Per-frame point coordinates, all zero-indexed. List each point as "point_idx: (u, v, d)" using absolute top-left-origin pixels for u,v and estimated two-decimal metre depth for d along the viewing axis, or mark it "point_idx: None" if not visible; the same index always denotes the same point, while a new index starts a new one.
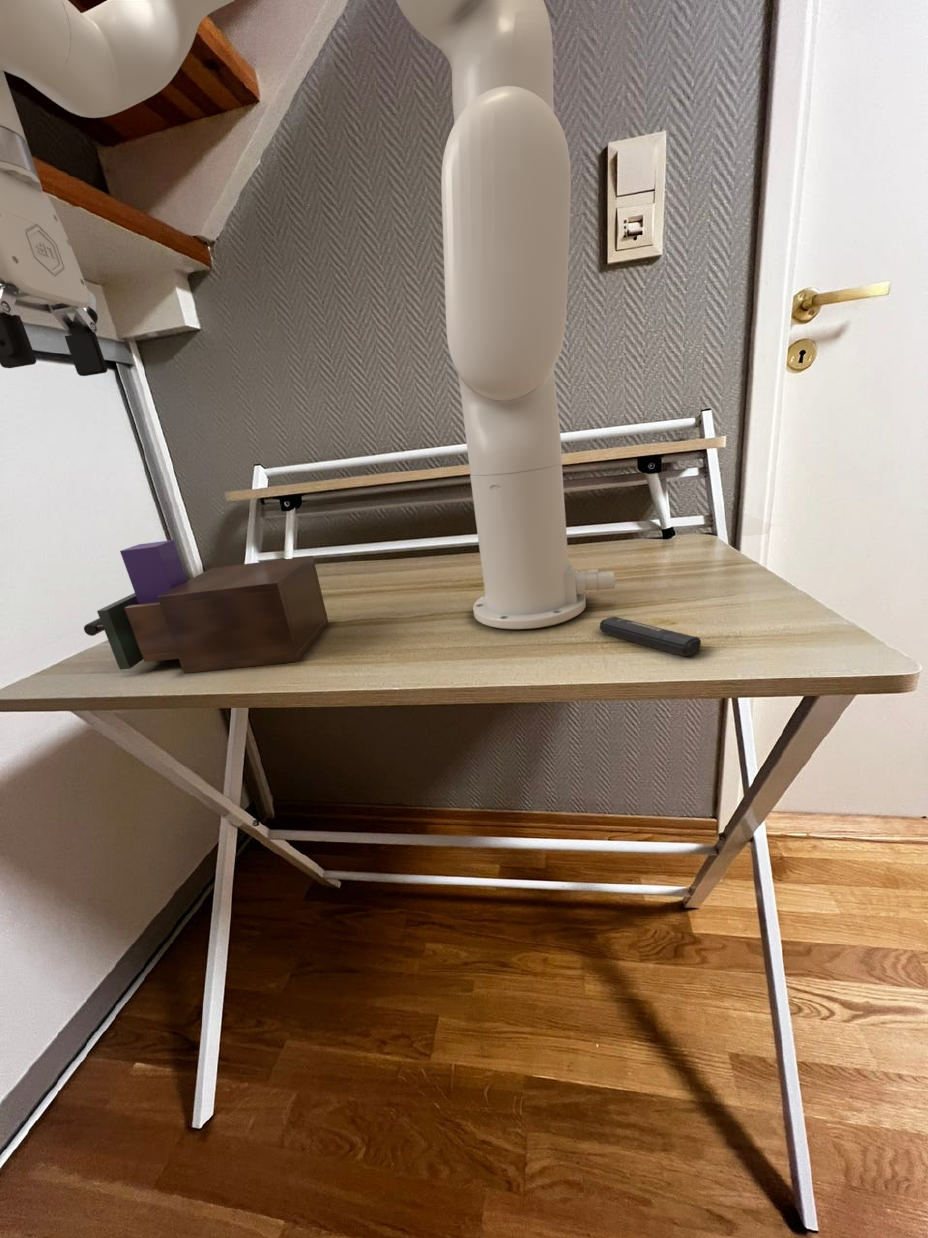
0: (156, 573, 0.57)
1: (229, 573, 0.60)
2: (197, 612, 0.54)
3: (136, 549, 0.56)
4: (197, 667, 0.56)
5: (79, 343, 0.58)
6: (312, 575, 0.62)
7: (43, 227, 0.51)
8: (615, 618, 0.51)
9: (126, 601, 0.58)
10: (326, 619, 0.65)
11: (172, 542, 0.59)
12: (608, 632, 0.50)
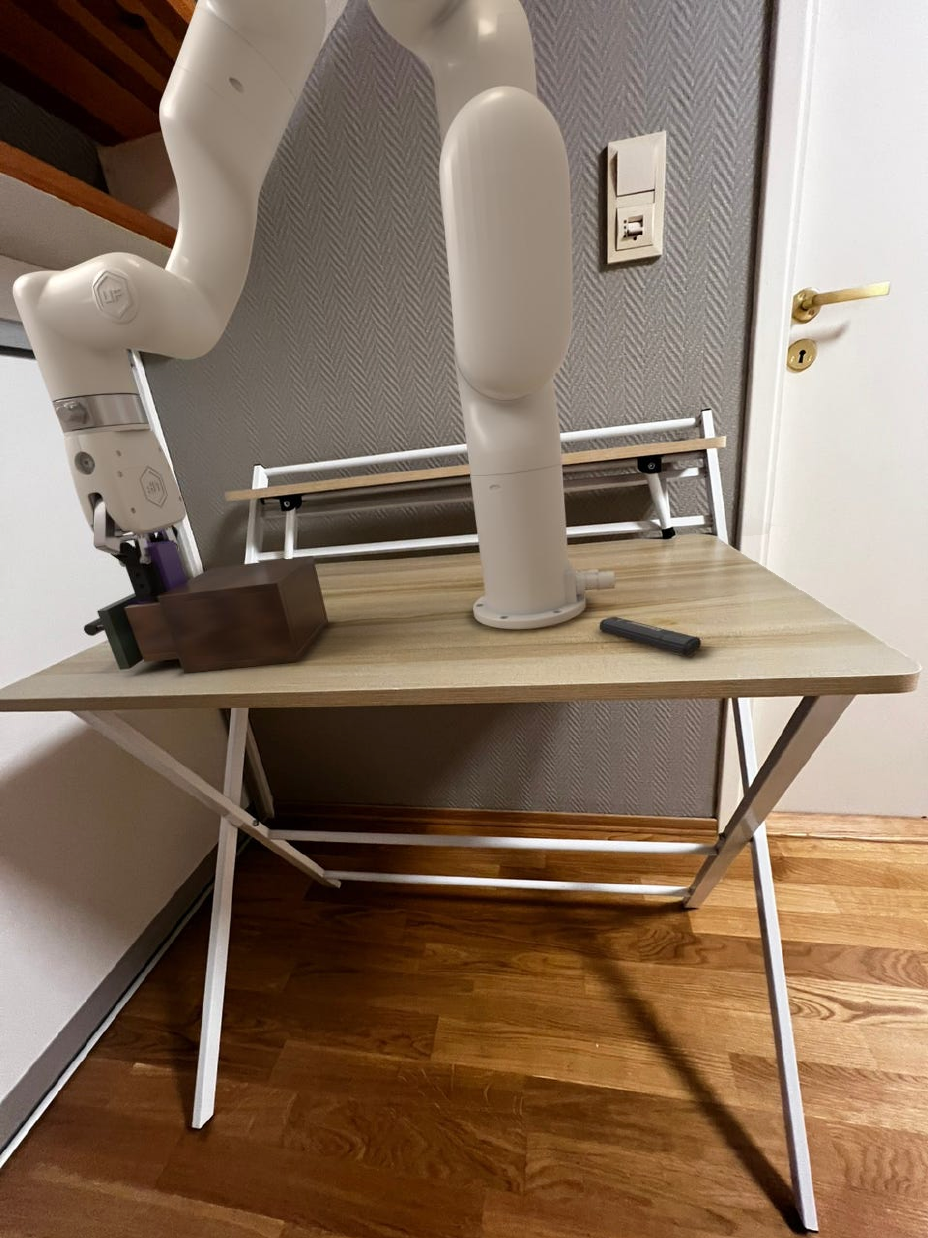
0: None
1: (229, 573, 0.60)
2: (197, 612, 0.54)
3: None
4: (197, 667, 0.56)
5: None
6: (312, 575, 0.62)
7: (152, 466, 0.56)
8: (615, 618, 0.51)
9: (126, 601, 0.58)
10: (326, 619, 0.65)
11: (172, 542, 0.59)
12: (608, 632, 0.50)
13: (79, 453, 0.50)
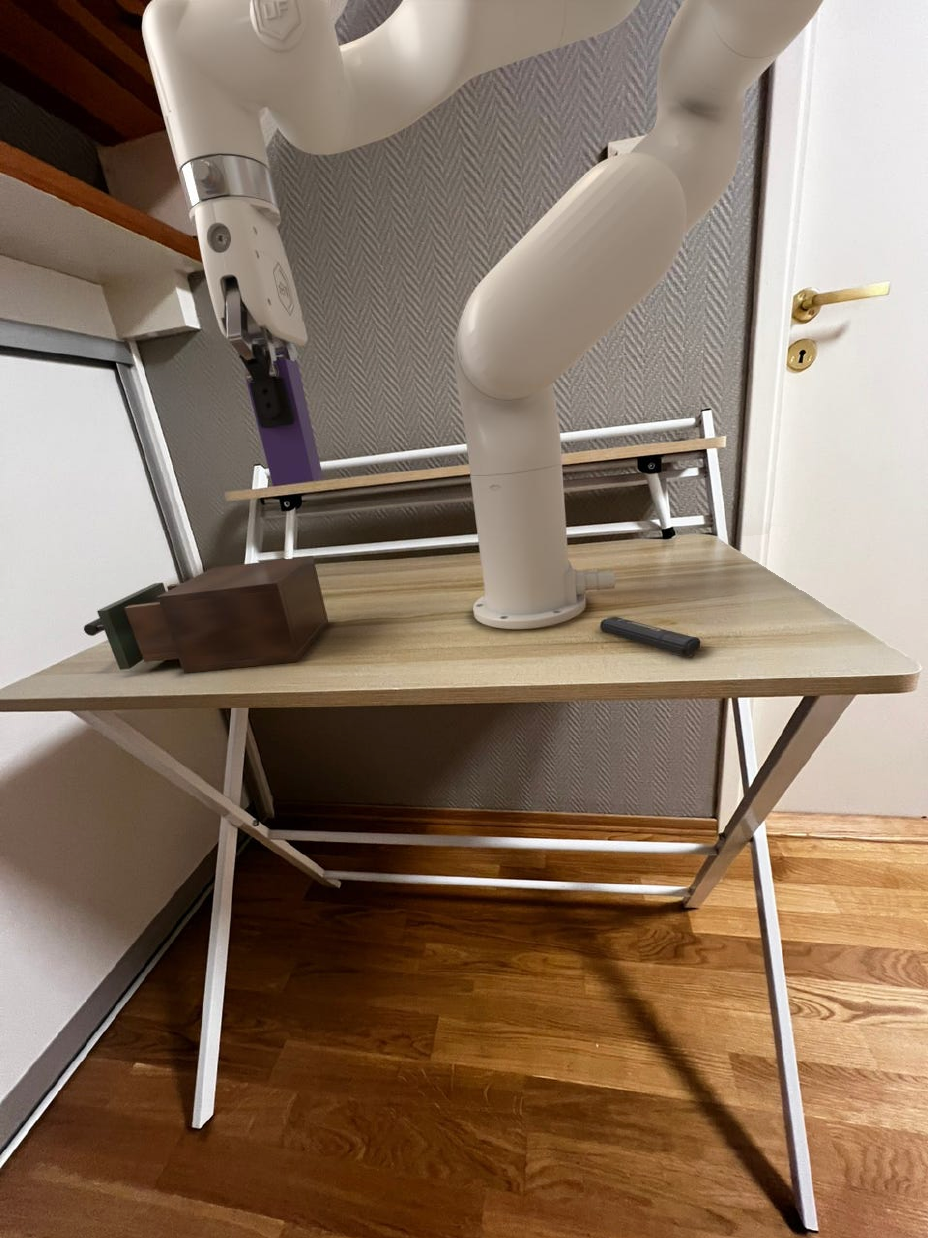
0: None
1: (229, 573, 0.60)
2: (197, 612, 0.54)
3: None
4: (197, 667, 0.56)
5: None
6: (312, 575, 0.62)
7: (281, 265, 0.49)
8: (615, 618, 0.51)
9: (126, 601, 0.58)
10: (326, 619, 0.65)
11: (297, 364, 0.52)
12: (608, 632, 0.51)
13: (212, 226, 0.43)
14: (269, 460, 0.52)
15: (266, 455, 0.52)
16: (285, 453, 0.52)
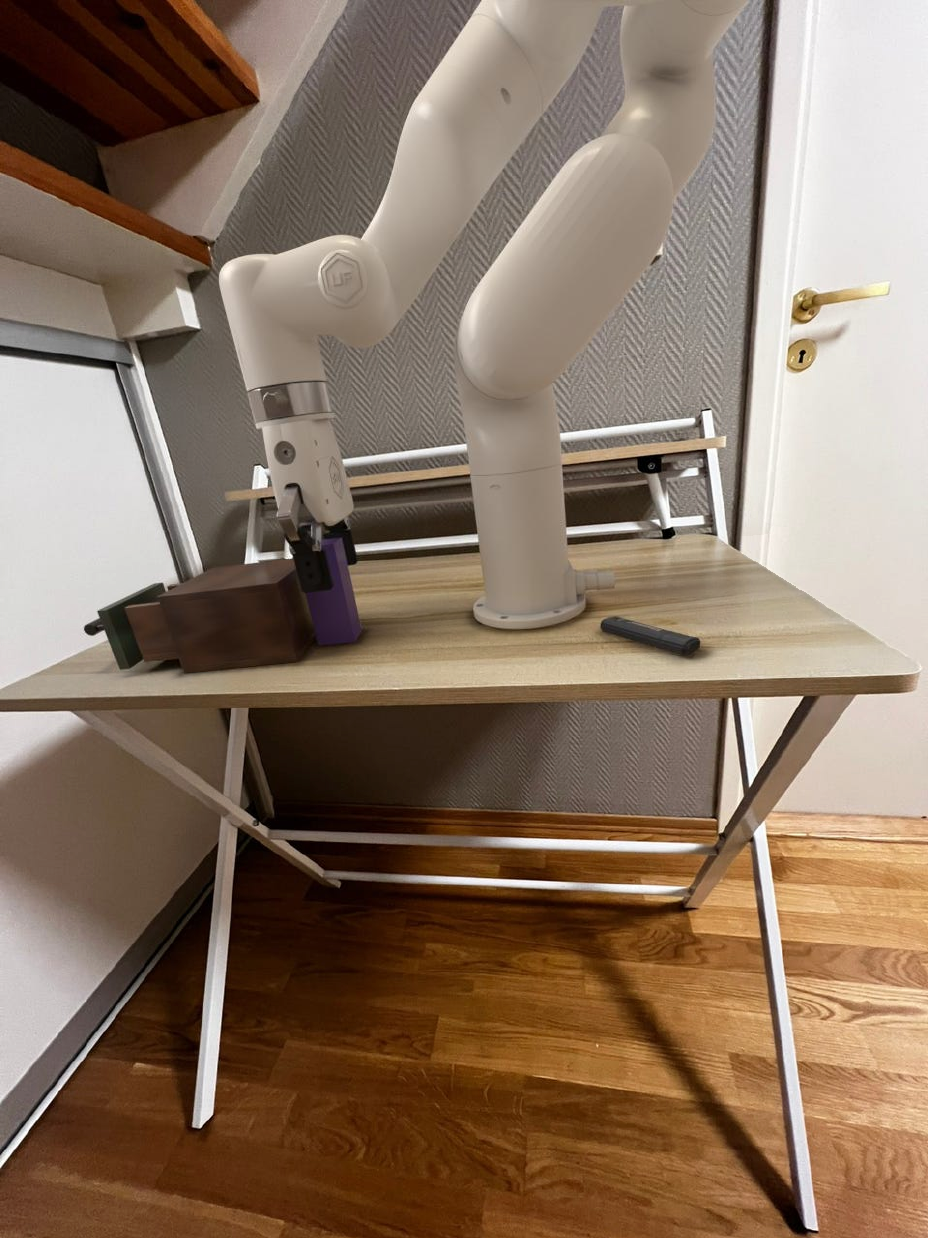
0: None
1: (229, 573, 0.60)
2: (197, 612, 0.54)
3: None
4: (197, 667, 0.56)
5: None
6: None
7: (334, 456, 0.54)
8: (616, 618, 0.51)
9: (126, 601, 0.58)
10: None
11: (341, 539, 0.58)
12: (608, 632, 0.51)
13: (279, 443, 0.49)
14: (316, 625, 0.58)
15: (313, 621, 0.58)
16: (330, 620, 0.58)
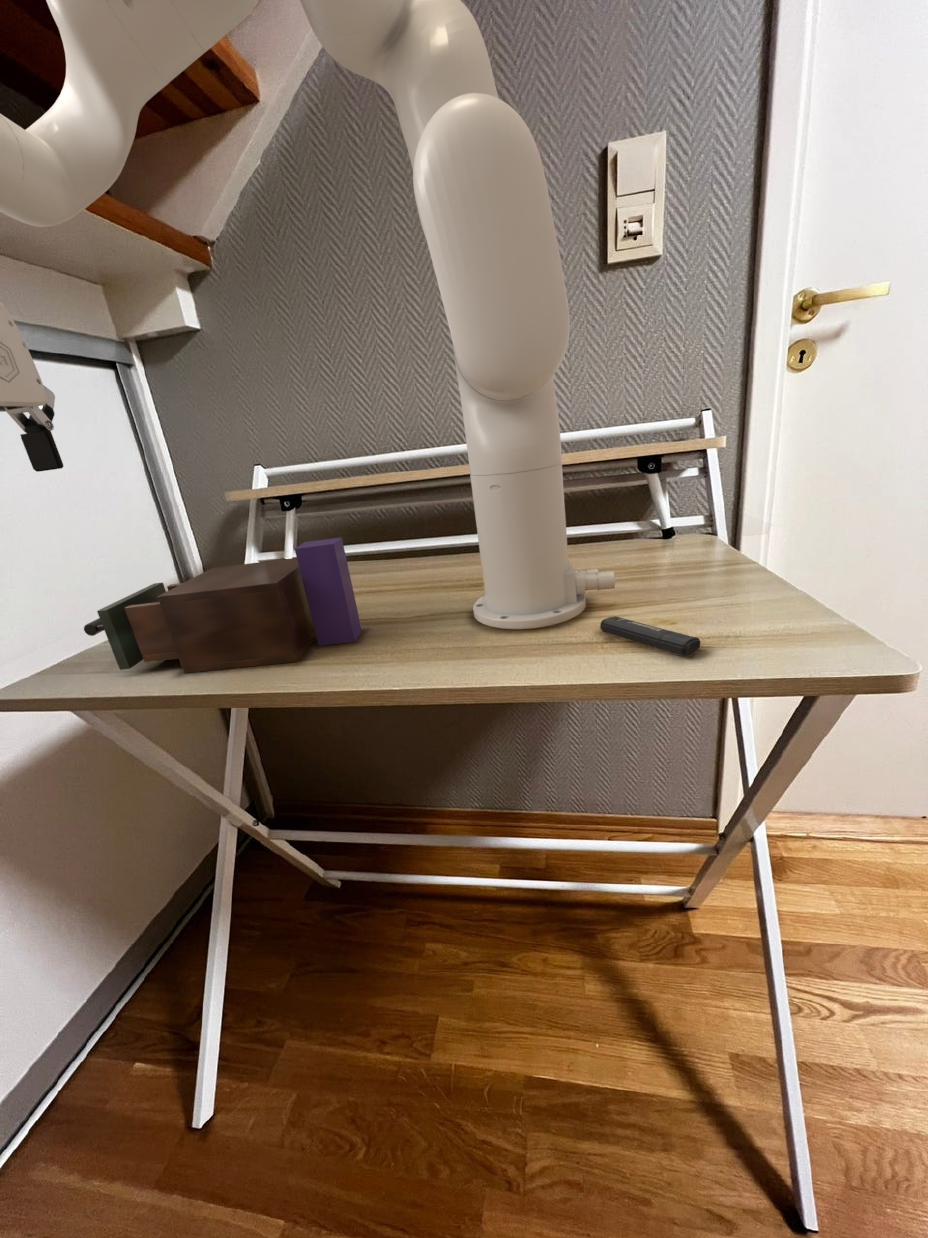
0: (330, 571, 0.56)
1: (229, 573, 0.60)
2: (197, 612, 0.54)
3: (311, 547, 0.55)
4: (197, 667, 0.56)
5: (34, 441, 0.58)
6: None
7: None
8: (616, 618, 0.51)
9: (126, 601, 0.58)
10: None
11: (341, 539, 0.58)
12: (608, 632, 0.51)
13: None
14: (316, 625, 0.58)
15: (313, 621, 0.58)
16: (330, 620, 0.58)
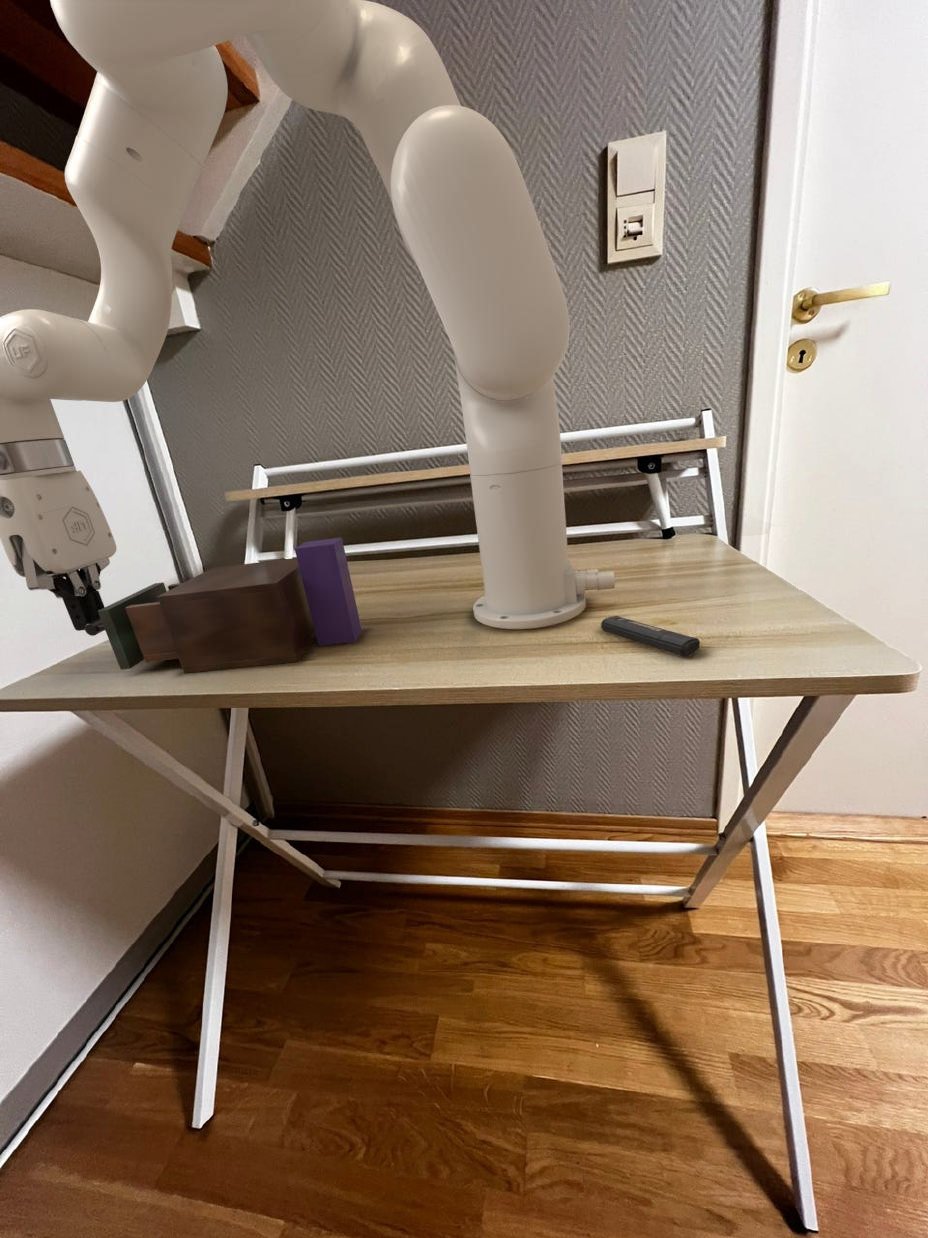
0: (330, 571, 0.56)
1: (229, 573, 0.60)
2: (197, 612, 0.54)
3: (311, 547, 0.55)
4: (197, 667, 0.56)
5: None
6: None
7: (77, 506, 0.57)
8: (617, 617, 0.51)
9: (127, 601, 0.58)
10: None
11: (341, 539, 0.58)
12: (609, 631, 0.51)
13: (0, 497, 0.52)
14: (316, 625, 0.58)
15: (313, 621, 0.58)
16: (330, 620, 0.58)
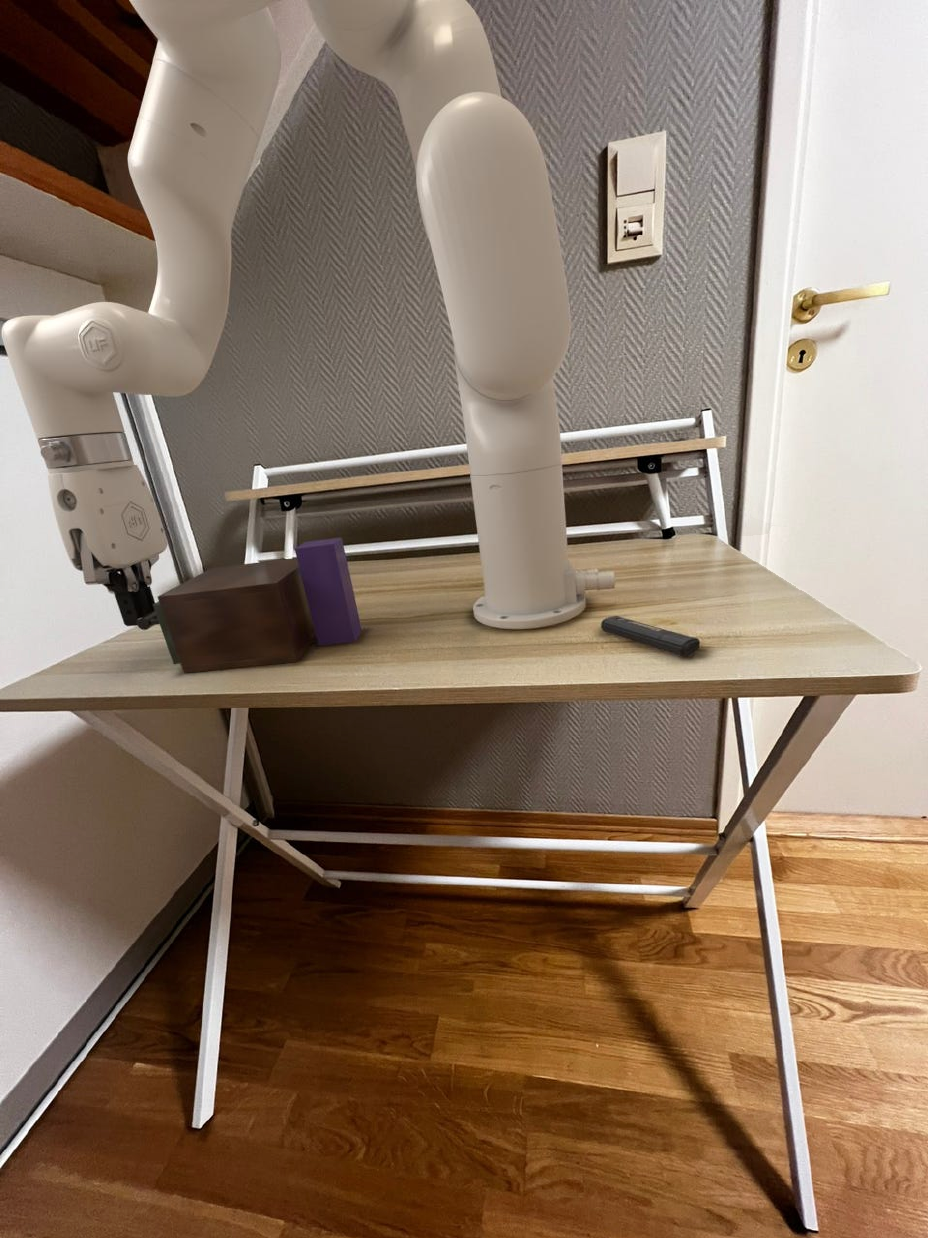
0: (330, 571, 0.56)
1: (229, 573, 0.60)
2: (197, 612, 0.54)
3: (311, 547, 0.55)
4: (197, 667, 0.56)
5: None
6: None
7: (134, 500, 0.57)
8: (617, 617, 0.51)
9: None
10: None
11: (341, 539, 0.58)
12: (609, 631, 0.51)
13: (62, 490, 0.52)
14: (316, 625, 0.58)
15: (313, 621, 0.58)
16: (330, 620, 0.58)
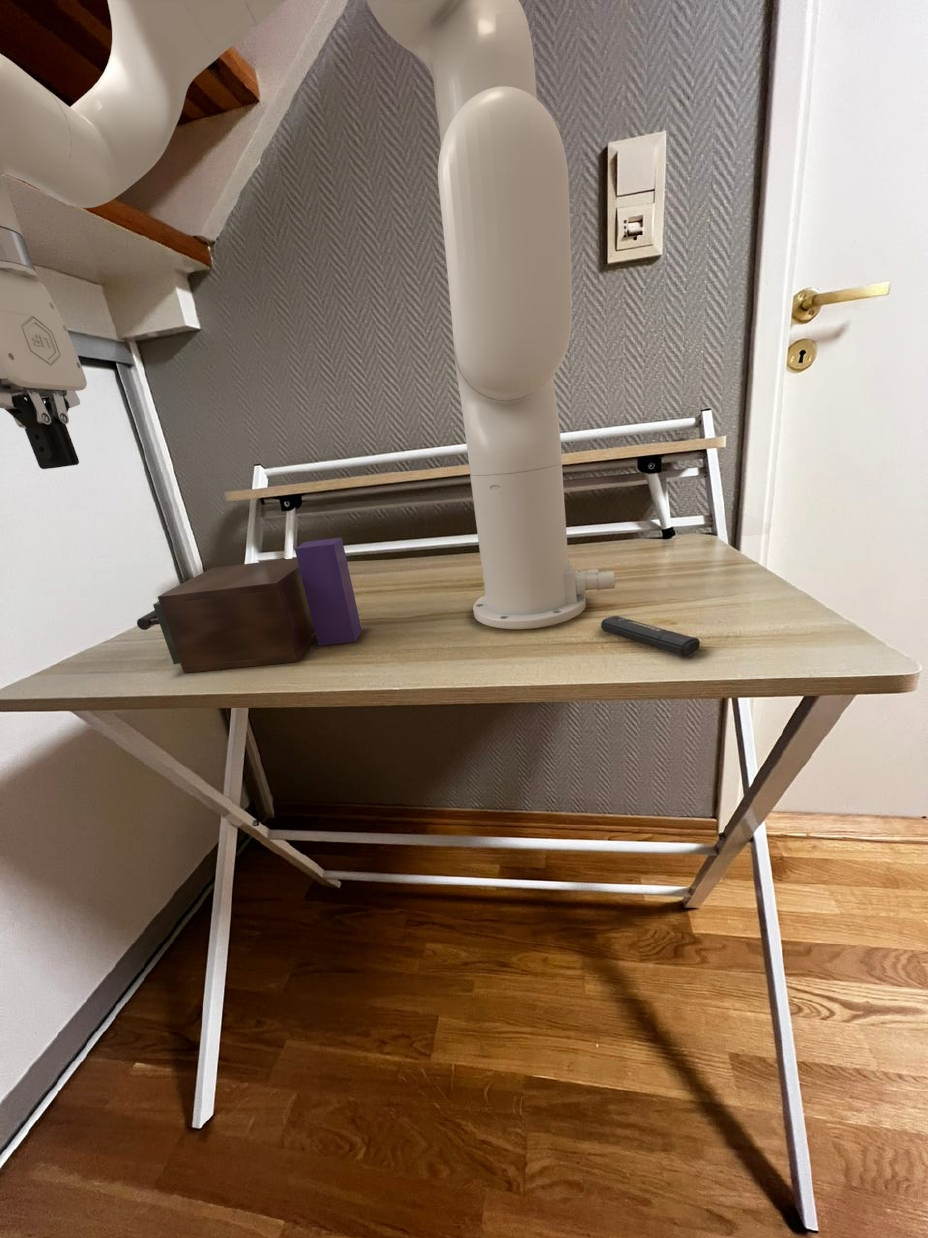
0: (330, 571, 0.56)
1: (229, 573, 0.60)
2: (197, 612, 0.54)
3: (311, 547, 0.55)
4: (197, 667, 0.56)
5: None
6: None
7: (39, 318, 0.51)
8: (616, 617, 0.51)
9: None
10: None
11: (341, 539, 0.58)
12: (609, 631, 0.51)
13: None
14: (316, 625, 0.58)
15: (313, 621, 0.58)
16: (330, 620, 0.58)
